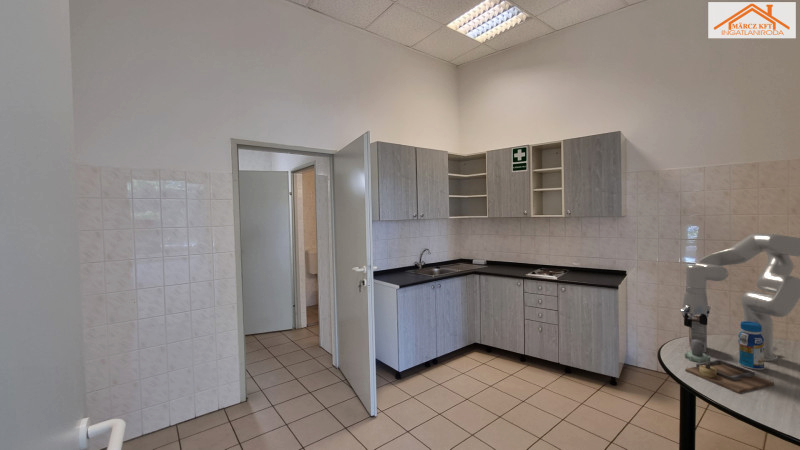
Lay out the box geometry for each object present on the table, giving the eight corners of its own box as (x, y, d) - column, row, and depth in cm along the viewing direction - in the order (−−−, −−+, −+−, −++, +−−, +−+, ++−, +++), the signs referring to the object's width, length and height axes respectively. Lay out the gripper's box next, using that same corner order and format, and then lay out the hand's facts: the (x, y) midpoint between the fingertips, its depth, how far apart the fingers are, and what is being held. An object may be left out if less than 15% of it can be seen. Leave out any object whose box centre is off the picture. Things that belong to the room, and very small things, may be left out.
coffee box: (688, 344, 183) (688, 314, 182) (704, 346, 179) (704, 316, 179) (690, 350, 176) (690, 319, 175) (707, 352, 172) (706, 321, 171)
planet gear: (694, 353, 171) (694, 336, 171) (715, 361, 162) (715, 343, 162) (679, 356, 169) (679, 338, 169) (700, 364, 160) (700, 345, 160)
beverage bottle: (736, 360, 162) (736, 319, 161) (761, 364, 157) (761, 322, 157) (740, 367, 155) (740, 324, 155) (767, 372, 150) (767, 327, 150)
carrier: (718, 364, 160) (718, 351, 159) (773, 384, 140) (773, 370, 140) (685, 370, 155) (685, 358, 155) (738, 393, 136) (738, 378, 135)
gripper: (701, 287, 170) (700, 321, 171) (674, 290, 166) (673, 324, 167) (718, 290, 163) (717, 326, 163) (690, 293, 159) (690, 329, 159)
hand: (695, 325), depth 165 cm, fingers open, 9 cm apart
